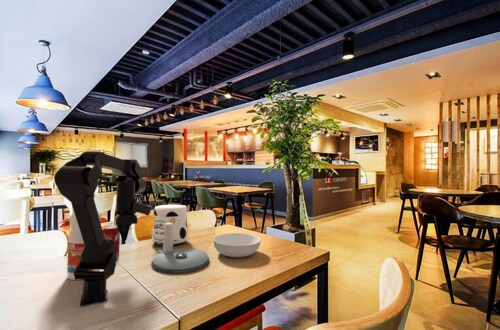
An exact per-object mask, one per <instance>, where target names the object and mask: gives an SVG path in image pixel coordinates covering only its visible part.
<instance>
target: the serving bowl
mask: <svg viewBox="0 0 500 330" xmlns="http://www.w3.org/2000/svg"><path fill="white" fill-rule="evenodd" d="M212 240H213V245H214V248H215V250H216V252H218V253H219V254H221V255H224V256H226V257H231V258H242V257H243V258H244V257H248V256H251V255H253V254H255V253H256V252H257V251H258V250H259V248H260V246H261V238H260V237H259V236H258V235H254V234H250V233H241V232H230V233H229V232H228V233H227V232H226V233H222V234H218V235H216V236H214V237H213V239H212Z"/></svg>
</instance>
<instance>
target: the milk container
mask: <svg viewBox="0 0 500 330" xmlns="http://www.w3.org/2000/svg"><path fill="white" fill-rule="evenodd" d="M187 213H188V207H187V205H184V204H183V205H182V204H162V205H157V206H155V207H154V211H153V228H152V230H151V241H152V242H153V244H154V245H157V246H161V247H163V243H164V224H165V223H173V247H174V246H178V245H182V244H184V243H185V242H187V240H188V238H189V228H188V223H187V221H188V214H187Z"/></svg>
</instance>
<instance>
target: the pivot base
mask: <svg viewBox="0 0 500 330" xmlns="http://www.w3.org/2000/svg"><path fill="white" fill-rule="evenodd" d="M162 250H164V243H163V246H162ZM175 257H176V258H185V257H187V254H186V253H178V254H176V255H175ZM209 264H210V258H209V256H208V260H207V262H206V263H204V264H203V265H201V266H198V267H195V268H191V269H185V270H165V269H161V268H158V267H156V266H154V264H153V260H152V261H151V264H150V265H151V269H153V270H154V271H156V272H158V273H162V274H168V275H170V274H171V275H179V274H181V275H182V274H188V273H193V272H197V271H200V270H202V269H204V268H205V267H207V266H208V265H209Z"/></svg>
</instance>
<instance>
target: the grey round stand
mask: <svg viewBox="0 0 500 330" xmlns="http://www.w3.org/2000/svg"><path fill="white" fill-rule="evenodd" d="M178 253H186V254H187V257H185V258H176V257H175V255H176V254H178ZM208 257H209V254H208V253H207V252H206V251H203V250H201V249H196V248H175V249H174V246H173V223H165V224H164V250H163V249H160V250H157V254H156V255H154V257H153V258H152V261H153V264H154V266H156V267H158V268H161V269H165V270H185V269H191V268H195V267H198V266H201V265H203V264H204V263H206V262H207V260H208Z"/></svg>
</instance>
